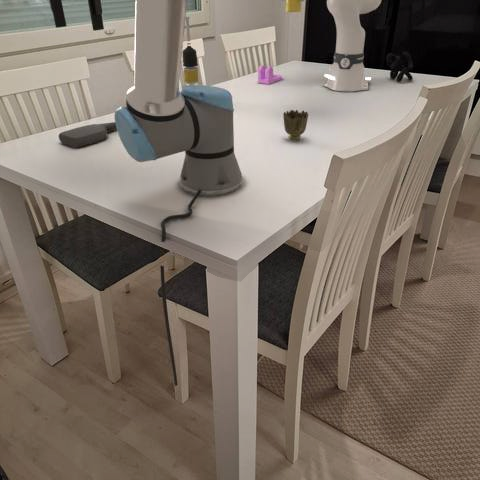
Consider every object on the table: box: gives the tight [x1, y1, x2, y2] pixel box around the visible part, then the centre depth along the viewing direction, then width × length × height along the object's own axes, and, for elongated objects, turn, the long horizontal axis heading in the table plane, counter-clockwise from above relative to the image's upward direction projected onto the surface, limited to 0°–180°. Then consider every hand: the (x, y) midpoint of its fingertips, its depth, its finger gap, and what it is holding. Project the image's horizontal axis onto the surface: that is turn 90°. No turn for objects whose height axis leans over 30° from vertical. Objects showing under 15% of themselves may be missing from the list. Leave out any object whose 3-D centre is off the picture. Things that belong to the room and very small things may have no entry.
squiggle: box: [385, 51, 414, 83], centre depth 198 cm, size 11×10×15 cm
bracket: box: [257, 65, 283, 85], centre depth 202 cm, size 13×6×7 cm, turn 143°
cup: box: [282, 109, 309, 142], centre depth 134 cm, size 8×7×8 cm
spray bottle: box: [58, 121, 117, 148], centre depth 142 cm, size 3×11×24 cm
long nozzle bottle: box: [182, 16, 200, 85], centre depth 166 cm, size 6×6×30 cm
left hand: (79, 28), depth 109 cm, fingers open, 13 cm apart
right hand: (294, 0), depth 138 cm, fingers closed on tin, 5 cm apart
